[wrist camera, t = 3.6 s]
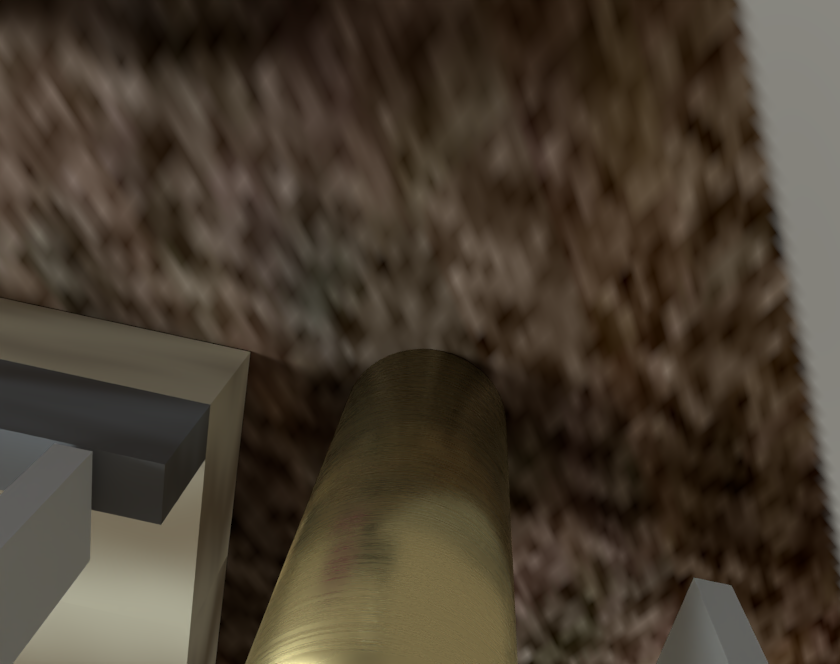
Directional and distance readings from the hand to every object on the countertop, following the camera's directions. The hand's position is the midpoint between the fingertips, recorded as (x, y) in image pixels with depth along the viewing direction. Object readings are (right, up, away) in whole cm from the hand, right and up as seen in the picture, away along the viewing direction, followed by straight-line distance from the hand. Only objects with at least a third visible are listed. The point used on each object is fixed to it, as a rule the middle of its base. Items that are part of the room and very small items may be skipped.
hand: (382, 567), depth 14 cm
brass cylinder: (+1, +2, +5) cm, 6 cm away
